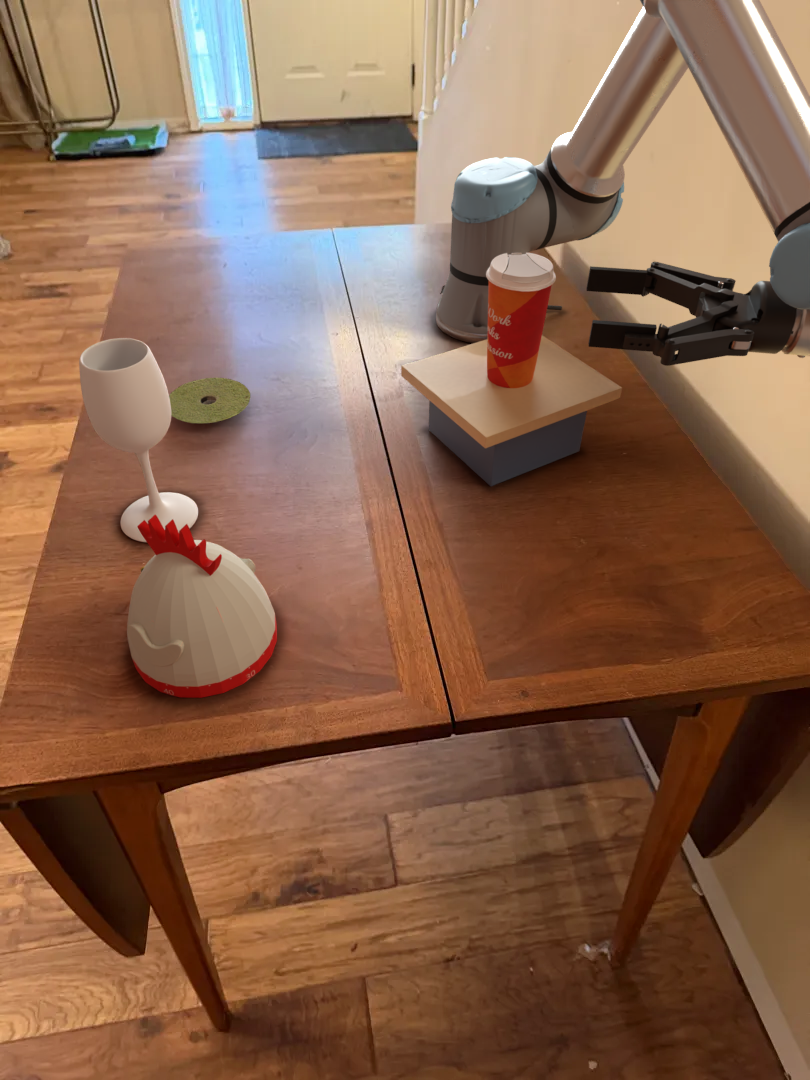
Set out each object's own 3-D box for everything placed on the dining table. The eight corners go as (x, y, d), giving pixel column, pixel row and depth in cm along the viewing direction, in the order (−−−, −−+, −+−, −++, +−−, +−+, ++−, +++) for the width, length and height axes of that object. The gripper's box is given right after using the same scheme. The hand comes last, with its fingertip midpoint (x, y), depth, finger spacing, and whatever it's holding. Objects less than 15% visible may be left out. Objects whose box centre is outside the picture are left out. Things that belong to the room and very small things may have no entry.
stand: (521, 387, 110) (528, 326, 104) (607, 452, 99) (622, 387, 93) (400, 429, 103) (401, 365, 96) (480, 504, 91) (486, 437, 85)
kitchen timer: (192, 572, 83) (162, 459, 73) (303, 614, 78) (288, 499, 68) (102, 666, 73) (54, 551, 63) (222, 719, 69) (192, 605, 59)
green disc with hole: (269, 410, 106) (267, 397, 104) (201, 445, 100) (198, 432, 98) (218, 380, 111) (216, 368, 110) (151, 412, 105) (148, 399, 104)
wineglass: (212, 503, 91) (177, 340, 77) (172, 550, 85) (127, 384, 71) (148, 487, 93) (103, 326, 79) (105, 533, 87) (48, 367, 73)
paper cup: (473, 361, 97) (481, 250, 87) (534, 359, 97) (548, 248, 88) (483, 395, 91) (493, 280, 82) (548, 392, 92) (565, 278, 82)
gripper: (799, 411, 78) (585, 392, 80) (756, 300, 96) (582, 288, 99) (827, 343, 73) (598, 325, 75) (776, 240, 91) (592, 228, 93)
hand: (588, 304), depth 87 cm, fingers open, 13 cm apart
